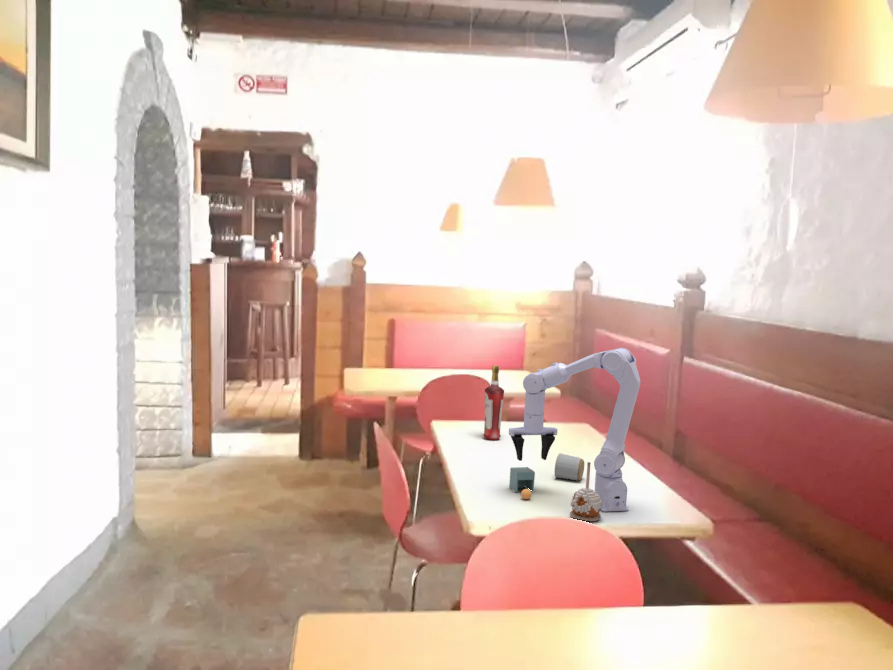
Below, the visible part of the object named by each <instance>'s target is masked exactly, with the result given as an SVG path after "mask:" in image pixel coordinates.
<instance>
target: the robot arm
mask: <svg viewBox="0 0 893 670" xmlns="http://www.w3.org/2000/svg"><path fill="white" fill-rule="evenodd" d="M592 368H596V369H598V370H599V369H600V370H602V369H604V370H605V371H606V372H607V373H609V374H610V375H611V376H613V378H614V379H615V380H616V381H617V383H618V385H619V391H618V394H617V398H616V400H615V405H614V409H613V413H612V415H611V416H612V417H611V421H610V424H609V427H608V431H607V433H606V438H605V441H604V442H603V444H602V447H601V448H600V451H599V454H598V455H597V456H596V457H595V459H594V461H593V467H594V469H595V477H594V478H595V479H594V491H596V492H597V494H598V495H599V496H600V499H601V501H602V508H601V510H600V511H602V512H603V513H604V512H622V511H623V512H625V511H628V512H629V510H630V509H629V507H627V500H628V499H627V498H628V486H627V484H626V483H625V482H624V480H623V472H622V469H621V468H623V467H624V465H625V462H626V457H625V451H626V450H625V449H626V445H625V441H626V438H627V435H628V431H629V427H630V423H631V419H632V416H633V413H634V409H635V405H636V402H637V398H638V396H639V390H640V388H641V378H640V374H639V370H638V367H637V359H636V357H635V356H634V354H633V353H632V352H631V351H630V350H629V349H628V348H625V347H618V348H615V349H610V350H605V351H601V352H596V353H593V354H590V355H588V356H585V357H583V358H580V359H578V360H575V361H574V362H571V363H569V364H566V363H562V362H554V363H552V364H551V366H548V367H546V368H544V369H542V368H540V369H537V372H531V373H528V374H527V375H526V376H525V377H524V379H523V380H522V386H523V389H524V390H525V397H524V410H523V411H524V413H523V414H524V415H523V426H519V427H509V428H508V435H509V436H510V438H511V440H512V443H513V445H514V446H513V447H514V449H515V453H516V459H517V460H518V461H520V462H521V461H523V449H524V443H525V438H523V436H540V438H541V453H540V456H541V457H540V459H542V460H543V461H546V460H547V458H548V454H549V451H550V449H551V447H552V445H553V444H554V442H555V441H556V436H558V428H557V427H548V426H544V422H545V421H544V420H545V419H544V418H545V401H546V400H545V399H546V397H545V396H546V391H547V390H548V389H551V388H554V387H556V386H559V385H562V384H564V383H567V382H569V380H570V378H571V376H572V375H575V374H578V373H581V372H584V371H587V370H590V369H592Z"/></svg>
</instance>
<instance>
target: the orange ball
mask: <svg viewBox="0 0 893 670" xmlns="http://www.w3.org/2000/svg"><path fill="white" fill-rule="evenodd" d="M532 495H533V492H531V491H530V490H529V489H527V488H525V489H523V490H521V493H520V496H521V498H522V499H523V500H525V499H528V500H530V499H531V498H532Z"/></svg>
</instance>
